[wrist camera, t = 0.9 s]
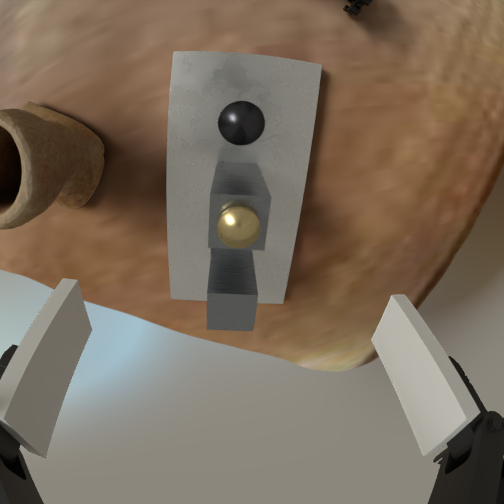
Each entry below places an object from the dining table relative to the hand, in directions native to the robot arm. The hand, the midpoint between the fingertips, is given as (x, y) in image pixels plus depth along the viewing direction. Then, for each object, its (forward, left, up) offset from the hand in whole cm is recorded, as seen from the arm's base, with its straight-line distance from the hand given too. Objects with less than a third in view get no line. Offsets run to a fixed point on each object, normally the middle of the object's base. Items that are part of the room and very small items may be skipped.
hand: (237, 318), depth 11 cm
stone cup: (+21, -4, -21) cm, 30 cm away
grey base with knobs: (0, +1, -21) cm, 21 cm away
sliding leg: (0, 0, -19) cm, 19 cm away
